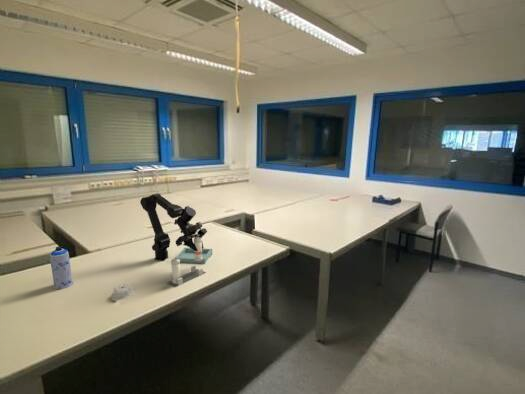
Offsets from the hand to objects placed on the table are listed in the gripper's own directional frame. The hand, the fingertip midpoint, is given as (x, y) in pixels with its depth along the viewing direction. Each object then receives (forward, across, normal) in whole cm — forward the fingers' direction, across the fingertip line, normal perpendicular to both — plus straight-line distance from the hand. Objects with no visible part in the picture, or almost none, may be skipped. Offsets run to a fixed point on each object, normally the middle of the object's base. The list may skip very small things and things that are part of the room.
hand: (200, 249), depth 151 cm
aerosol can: (-23, -48, +43) cm, 68 cm away
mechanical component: (+1, -37, +19) cm, 41 cm away
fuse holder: (+9, -9, +10) cm, 16 cm away
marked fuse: (+3, 0, +5) cm, 6 cm away
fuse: (+8, -15, +10) cm, 20 cm away
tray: (-2, +11, +22) cm, 24 cm away
